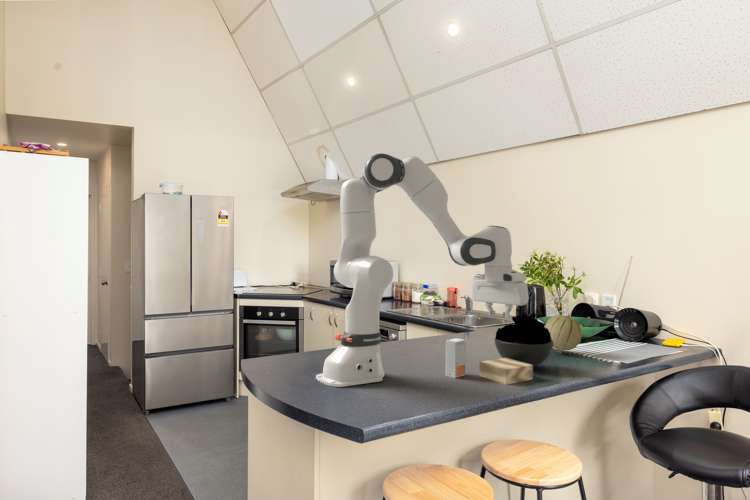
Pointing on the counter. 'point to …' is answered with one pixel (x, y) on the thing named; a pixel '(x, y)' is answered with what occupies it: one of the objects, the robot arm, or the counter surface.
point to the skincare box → (455, 358)
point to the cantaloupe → (564, 332)
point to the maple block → (506, 370)
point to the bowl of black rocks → (524, 340)
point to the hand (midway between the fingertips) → (499, 316)
